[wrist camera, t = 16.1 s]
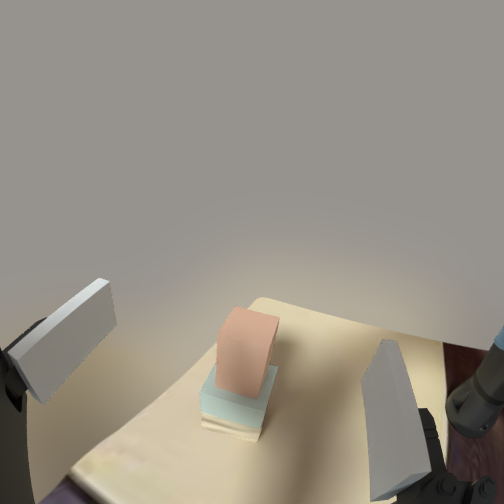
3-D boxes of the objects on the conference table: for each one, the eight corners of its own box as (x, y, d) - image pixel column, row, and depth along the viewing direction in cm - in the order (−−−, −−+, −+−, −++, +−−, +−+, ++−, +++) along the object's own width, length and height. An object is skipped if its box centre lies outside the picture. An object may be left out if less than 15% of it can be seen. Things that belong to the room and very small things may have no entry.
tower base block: (257, 442, 35) (261, 428, 33) (201, 428, 36) (201, 413, 34) (266, 401, 43) (271, 385, 41) (217, 390, 44) (218, 372, 42)
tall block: (257, 399, 32) (269, 347, 29) (214, 386, 34) (217, 332, 30) (267, 370, 38) (279, 317, 34) (229, 359, 39) (234, 306, 35)
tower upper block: (259, 429, 33) (265, 411, 31) (200, 411, 34) (199, 391, 32) (272, 386, 41) (278, 366, 39) (220, 371, 42) (222, 351, 41)
